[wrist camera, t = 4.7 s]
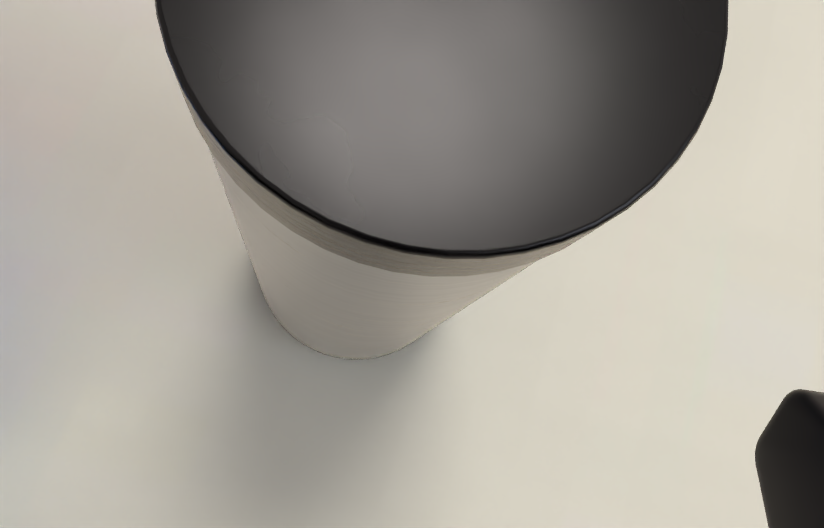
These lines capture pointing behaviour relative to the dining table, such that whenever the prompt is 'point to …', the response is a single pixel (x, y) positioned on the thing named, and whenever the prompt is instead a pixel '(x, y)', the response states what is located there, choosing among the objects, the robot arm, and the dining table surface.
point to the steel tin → (431, 140)
